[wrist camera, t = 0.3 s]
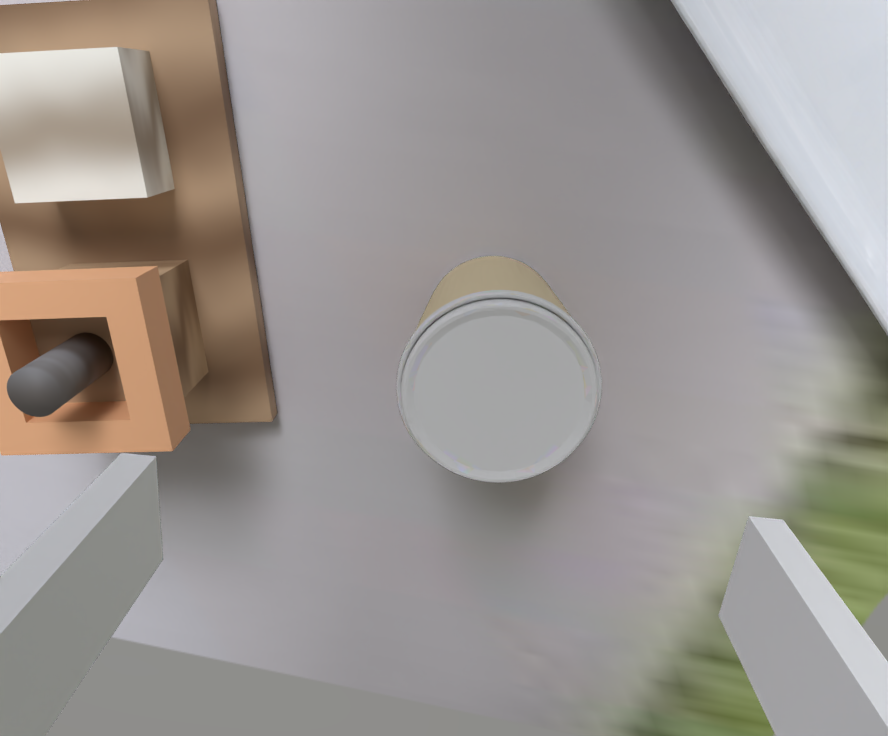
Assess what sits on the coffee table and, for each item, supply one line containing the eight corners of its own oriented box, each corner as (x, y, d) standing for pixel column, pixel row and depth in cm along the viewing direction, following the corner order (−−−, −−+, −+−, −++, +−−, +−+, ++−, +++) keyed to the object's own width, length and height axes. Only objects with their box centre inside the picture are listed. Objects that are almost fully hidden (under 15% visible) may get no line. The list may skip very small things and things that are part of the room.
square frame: (-19, 272, 35) (-53, 285, 32) (157, 266, 34) (135, 277, 32) (29, 434, 38) (1, 455, 36) (190, 429, 37) (172, 451, 35)
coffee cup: (420, 390, 44) (402, 491, 33) (409, 244, 40) (386, 301, 29) (568, 386, 43) (601, 486, 32) (570, 236, 40) (608, 292, 29)
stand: (-44, 11, 37) (-274, -26, 25) (215, -4, 36) (97, -49, 25) (67, 419, 46) (-67, 526, 34) (277, 413, 45) (211, 521, 33)
